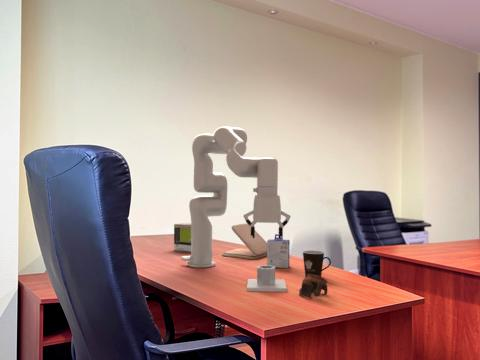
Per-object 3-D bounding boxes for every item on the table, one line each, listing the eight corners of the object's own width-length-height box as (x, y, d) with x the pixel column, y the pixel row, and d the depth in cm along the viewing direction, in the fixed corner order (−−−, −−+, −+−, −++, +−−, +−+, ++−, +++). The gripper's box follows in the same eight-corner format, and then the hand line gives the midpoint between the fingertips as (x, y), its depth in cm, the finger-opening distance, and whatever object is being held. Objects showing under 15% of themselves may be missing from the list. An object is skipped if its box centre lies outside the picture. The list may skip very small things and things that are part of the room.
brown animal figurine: (292, 294, 156) (300, 272, 159) (316, 305, 157) (323, 283, 160) (306, 294, 145) (315, 270, 148) (331, 306, 146) (339, 282, 149)
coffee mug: (298, 275, 185) (298, 251, 185) (316, 273, 188) (316, 250, 188) (314, 281, 174) (314, 255, 174) (332, 279, 177) (332, 254, 177)
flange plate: (246, 291, 158) (247, 276, 158) (247, 281, 172) (248, 268, 172) (286, 291, 158) (286, 277, 158) (284, 282, 172) (284, 269, 172)
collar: (257, 285, 162) (257, 268, 162) (257, 281, 168) (257, 265, 168) (275, 285, 161) (275, 269, 161) (274, 281, 168) (274, 265, 168)
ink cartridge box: (289, 266, 204) (290, 234, 204) (288, 268, 199) (289, 235, 199) (268, 265, 206) (268, 233, 206) (266, 267, 201) (266, 235, 201)
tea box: (206, 250, 247) (206, 223, 247) (194, 252, 238) (195, 225, 238) (184, 248, 255) (185, 222, 255) (173, 250, 246) (173, 223, 246)
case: (255, 260, 219) (256, 227, 219) (219, 256, 229) (220, 225, 229) (273, 254, 237) (274, 224, 237) (239, 251, 247) (239, 222, 247)
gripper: (243, 191, 161) (242, 238, 162) (291, 192, 161) (290, 239, 161) (244, 190, 169) (243, 236, 169) (290, 191, 168) (289, 237, 168)
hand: (266, 237), depth 165 cm, fingers open, 9 cm apart
